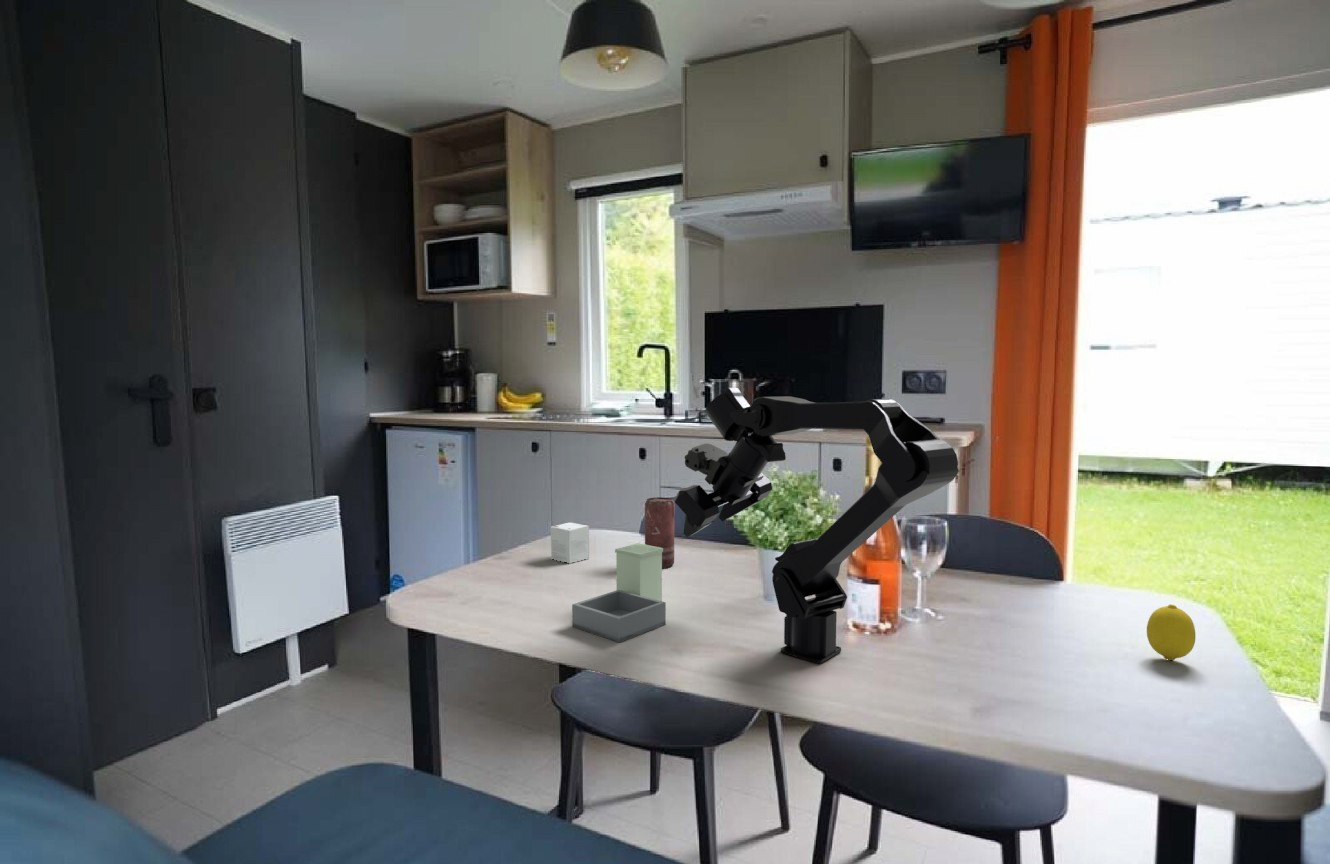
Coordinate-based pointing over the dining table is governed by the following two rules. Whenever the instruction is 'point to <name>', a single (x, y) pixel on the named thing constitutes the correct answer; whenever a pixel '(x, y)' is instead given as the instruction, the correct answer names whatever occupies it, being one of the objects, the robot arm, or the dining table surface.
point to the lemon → (1171, 632)
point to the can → (660, 527)
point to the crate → (618, 615)
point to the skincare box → (570, 542)
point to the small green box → (640, 570)
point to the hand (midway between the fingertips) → (703, 527)
